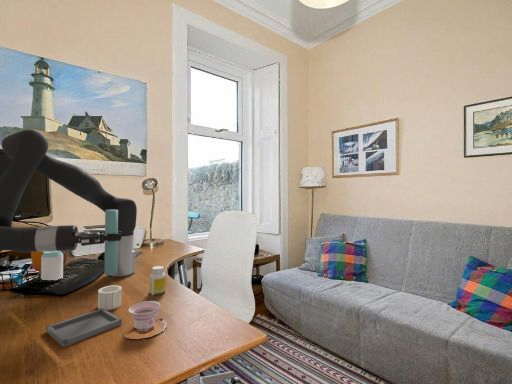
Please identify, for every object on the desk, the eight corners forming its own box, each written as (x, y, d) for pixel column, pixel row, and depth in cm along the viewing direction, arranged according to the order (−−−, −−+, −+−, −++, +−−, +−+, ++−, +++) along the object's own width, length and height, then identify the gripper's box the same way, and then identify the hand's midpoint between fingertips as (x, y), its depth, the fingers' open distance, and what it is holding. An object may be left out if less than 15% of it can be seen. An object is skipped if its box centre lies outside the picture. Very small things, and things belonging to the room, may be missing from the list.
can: (67, 278, 114) (67, 249, 114) (52, 284, 107) (53, 253, 107) (51, 277, 115) (51, 248, 115) (36, 283, 108) (36, 252, 108)
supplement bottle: (168, 292, 102) (168, 266, 102) (158, 298, 97) (159, 270, 96) (156, 290, 104) (156, 264, 103) (146, 296, 98) (146, 268, 98)
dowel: (113, 270, 91) (114, 209, 90) (119, 272, 89) (120, 210, 88) (102, 272, 88) (103, 210, 87) (107, 275, 86) (108, 210, 85)
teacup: (138, 346, 68) (138, 321, 68) (110, 331, 74) (111, 309, 74) (176, 326, 78) (176, 304, 78) (149, 315, 84) (149, 294, 84)
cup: (114, 301, 93) (115, 284, 93) (125, 307, 89) (125, 288, 89) (94, 308, 88) (94, 289, 87) (104, 314, 84) (104, 294, 84)
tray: (102, 315, 83) (102, 308, 83) (121, 327, 77) (121, 319, 77) (46, 335, 72) (46, 326, 72) (63, 350, 65) (63, 341, 65)
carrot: (37, 274, 118) (37, 239, 117) (27, 273, 119) (28, 239, 118) (48, 271, 122) (48, 237, 122) (38, 270, 123) (39, 237, 123)
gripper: (50, 229, 76) (120, 227, 82) (63, 222, 89) (123, 221, 95) (50, 256, 76) (119, 252, 83) (63, 245, 89) (122, 242, 96)
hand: (121, 235), depth 89 cm, fingers closed on dowel, 3 cm apart
